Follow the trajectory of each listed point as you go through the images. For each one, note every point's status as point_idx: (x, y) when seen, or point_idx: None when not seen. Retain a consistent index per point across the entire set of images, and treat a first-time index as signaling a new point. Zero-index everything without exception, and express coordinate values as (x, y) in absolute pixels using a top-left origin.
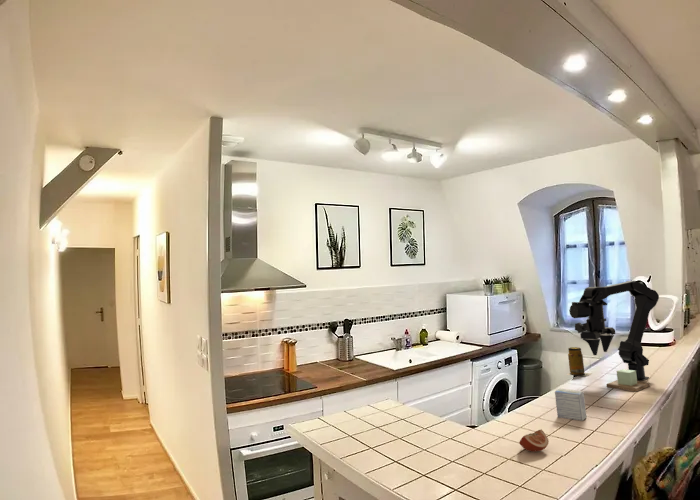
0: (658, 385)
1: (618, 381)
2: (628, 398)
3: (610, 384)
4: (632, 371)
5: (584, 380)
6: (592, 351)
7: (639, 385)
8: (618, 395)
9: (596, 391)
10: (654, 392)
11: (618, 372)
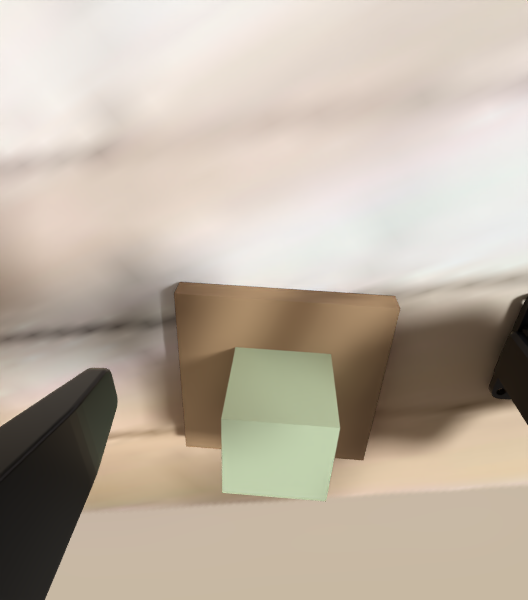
0: (402, 467)
1: (233, 363)
2: None
3: (179, 319)
4: (279, 494)
5: (297, 4)
6: (27, 420)
7: None
8: (46, 395)
9: (18, 277)
10: None
11: (221, 423)
